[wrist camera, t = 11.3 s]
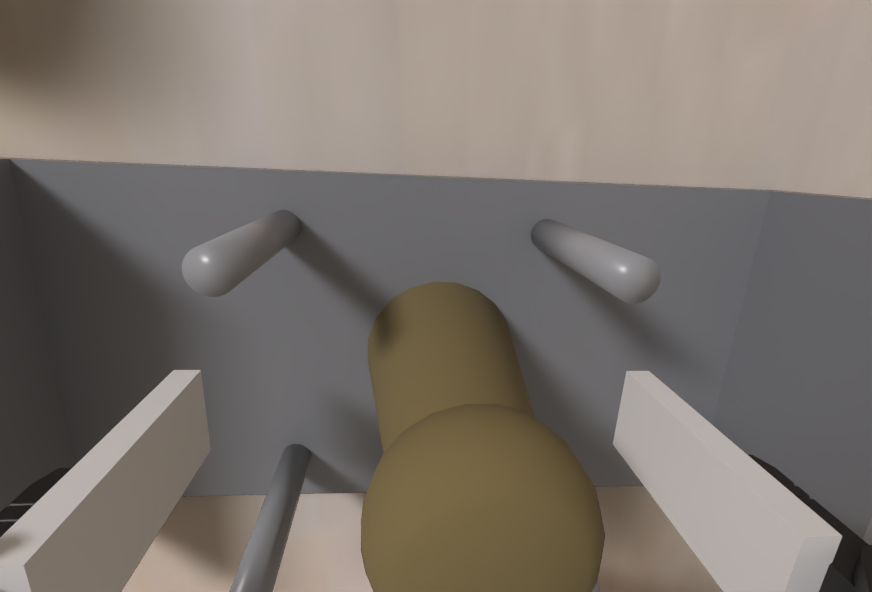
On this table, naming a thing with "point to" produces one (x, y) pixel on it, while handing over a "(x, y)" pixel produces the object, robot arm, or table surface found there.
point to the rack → (409, 267)
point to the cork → (468, 460)
